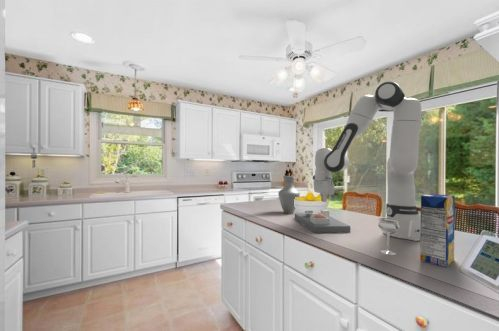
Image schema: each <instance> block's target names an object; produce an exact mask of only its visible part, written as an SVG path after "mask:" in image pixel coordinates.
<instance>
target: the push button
mask: <svg viewBox="0 0 499 331" xmlns="http://www.w3.org/2000/svg"><path fill="white" fill-rule="evenodd" d="M315 218H325V215H323V214H315Z"/></svg>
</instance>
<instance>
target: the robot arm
mask: <svg viewBox="0 0 499 331" xmlns="http://www.w3.org/2000/svg"><path fill="white" fill-rule="evenodd" d="M405 96H406V95H405V92H404V91H403V90H402V88H401V86H400V85H399V84H398V83H396V82H394V81H385V82H383V83H381V84H380V85H378V86H377V88H376V90H375V92H374V95H371V94H364V95H362V96H360V97H359V99H358V100H357V101H356V103H355V105H354V106H353V108H352V111H350V113H349V116H348V118H347V121H346V124H345V126H344V128H343V130H342V132H341V133H340V135H339V137H338V139H337V141H336V143H335V145H334V146H333V148H332V149H331V148H329V147H323V148H319V149H317V150H316V151H315V154H314V165H315V172H314V174H313V175H312V180H313V191H314V192H315V193H318V194H319V196H320V200H321V202H323V203H326V202H327V198H328V196H334V195H335V185H334V184H335V183H334V181H333V179H332V178H333V177H332V173H337V172H342V171H345V170H347V169H348V168H349V166H350V165H351V164H350V163H351V162H350V158H349V156H348V155H346V153H347V151H348V150H349V148H350V146H351V144H352V142H353V141H354V140H355V138H356V137H358V136H360V135H362V134H364V133H365V132H366V131H367V129H368V128H369V127H370V126H371V123H372V121H373V119H374V117H375V115H376V114H377V112H389V113H390V112H393V120H392V127H391V134H390V145H389V146H390V150H389V157H388V159H387V162H386V178H387V179H386V180H387V196H386V197H387V198H386V199H387V200H386V201H387V203H386V204H385V205H386V206H385V211H386V212H385V213H386V218H390V219H396V220H399V222H398V224H399V230H398V231H397V232H396V233H394V234H391V235H390V237H393V238H399V239H403V240H404V239H405V240H411V241H414V242H417V241H418V242H419V241H420V242H421V214H420V212H421V206H416V185H415V184H416V183H415V174H414V173H415V171H416V170H417V169H418V165H419V152H420V151H419V150H420V149H419V148H420V135H421V134H420V133H421V132H420V131H421V124H422V103H421V102H420V100H419V99H417V98H413V97H408V98H407V97H405ZM382 233H383V234H385V235H386V233H384V232H382Z"/></svg>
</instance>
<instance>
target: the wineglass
mask: <svg viewBox="0 0 499 331" xmlns="http://www.w3.org/2000/svg"><path fill="white" fill-rule="evenodd" d="M398 222H399V220H396V219H390V218H387V217H380V218H378V229H379V230H380V231H381V232H382V233H383V232H384V233H386V234H385V235H386V236H387V238H386V239H387V249H382V250H380V252H381V253H382V254H383V255H390V256H395V255H397V253H396V252H394V251H393V250H390V238H391V236H390V235H391V234H394V233H396V232H397V231H398V230H399V224H398ZM384 233H383V234H384Z"/></svg>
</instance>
